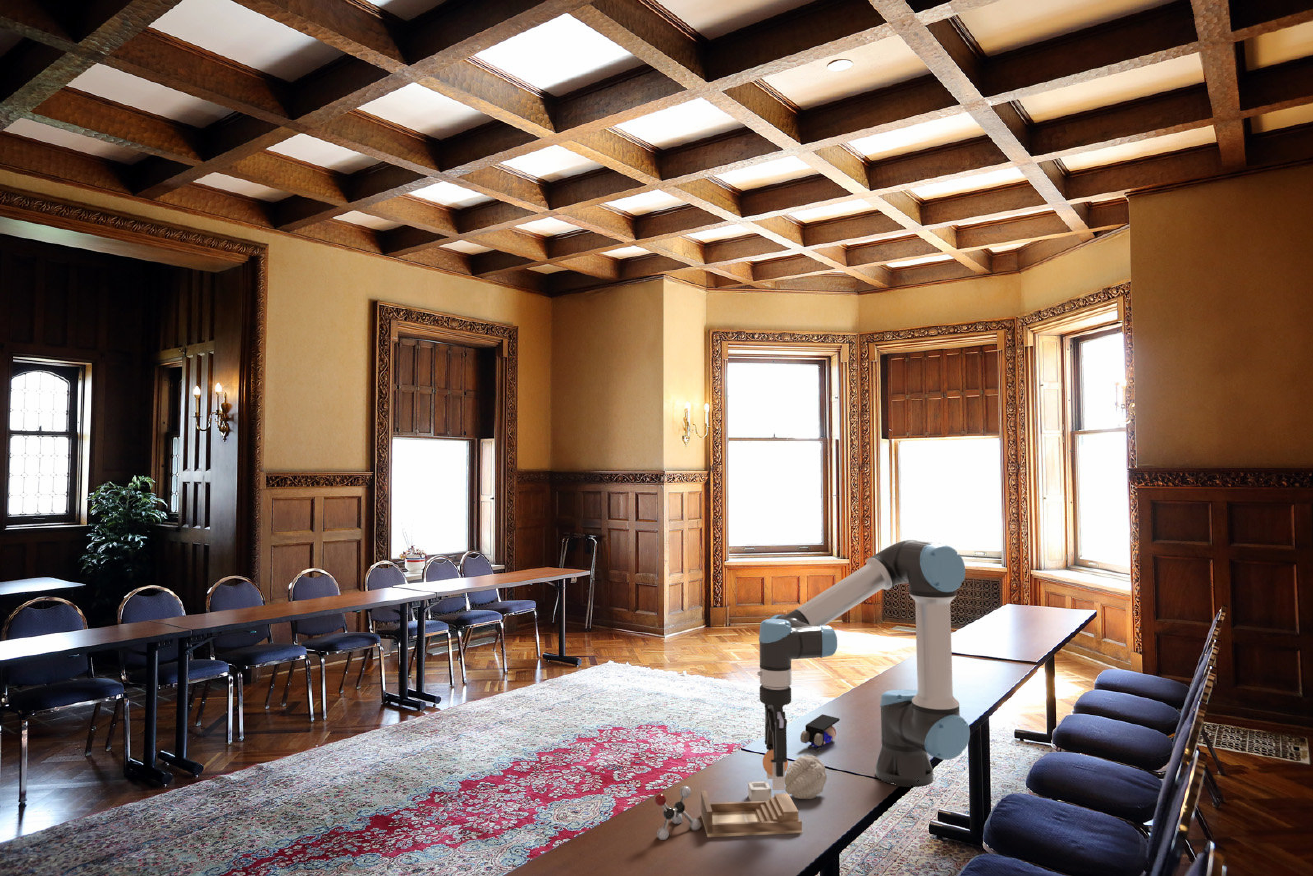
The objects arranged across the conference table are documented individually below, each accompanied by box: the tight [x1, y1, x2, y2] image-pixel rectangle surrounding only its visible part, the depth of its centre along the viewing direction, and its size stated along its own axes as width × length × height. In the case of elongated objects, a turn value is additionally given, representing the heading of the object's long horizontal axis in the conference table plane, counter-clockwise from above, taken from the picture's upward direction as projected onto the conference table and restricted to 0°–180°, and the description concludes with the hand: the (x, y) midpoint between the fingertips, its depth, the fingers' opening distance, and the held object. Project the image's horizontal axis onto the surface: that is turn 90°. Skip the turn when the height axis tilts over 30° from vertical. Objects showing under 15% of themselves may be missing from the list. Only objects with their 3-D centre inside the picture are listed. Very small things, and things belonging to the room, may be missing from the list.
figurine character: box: [799, 714, 840, 752], centre depth 244 cm, size 7×8×15 cm
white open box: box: [747, 781, 772, 802], centre depth 204 cm, size 5×5×4 cm
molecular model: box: [654, 785, 702, 841], centre depth 186 cm, size 8×12×11 cm
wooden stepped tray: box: [700, 790, 803, 838], centre depth 190 cm, size 22×12×6 cm, turn 94°
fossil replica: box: [784, 754, 828, 800], centre depth 206 cm, size 12×8×10 cm
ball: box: [762, 749, 789, 776], centre depth 190 cm, size 6×6×6 cm
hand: (775, 783), depth 190 cm, fingers closed on ball, 6 cm apart
